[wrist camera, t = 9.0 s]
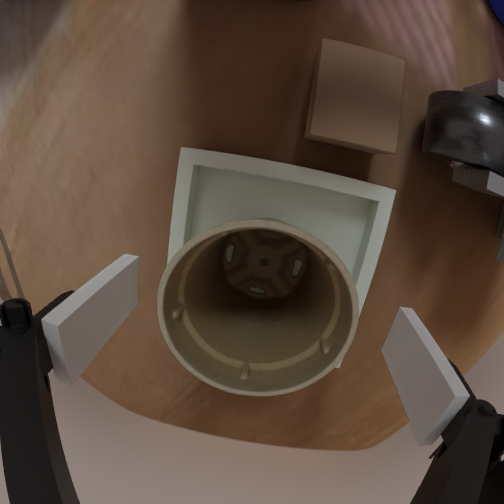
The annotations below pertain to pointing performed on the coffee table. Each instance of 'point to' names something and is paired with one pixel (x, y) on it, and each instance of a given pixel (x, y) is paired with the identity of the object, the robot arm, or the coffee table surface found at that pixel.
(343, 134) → the block
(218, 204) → the tray
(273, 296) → the flower pot
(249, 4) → the coffee table surface
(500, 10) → the mug
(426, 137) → the caster wheel
